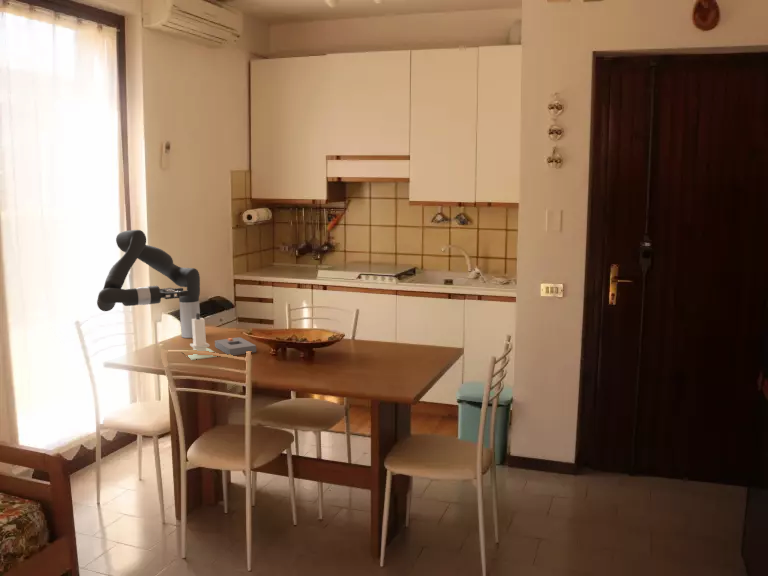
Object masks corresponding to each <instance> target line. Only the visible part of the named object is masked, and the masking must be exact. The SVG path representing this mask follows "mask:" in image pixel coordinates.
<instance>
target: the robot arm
mask: <svg viewBox="0 0 768 576" xmlns="http://www.w3.org/2000/svg"><path fill="white" fill-rule="evenodd" d="M115 241H116V242H115V243H116V245H117V248H119V250H120V251H122V252H123V253H124V254H123V255H122V256H121V257H120V259H118V260H117V261H116V262H115V263H114V265H112V267H111V268H110V270H109V271H108V274H107V276H106V279H105V282H104V286H103V288H102V289H101V290H100V291H99V292H98V296H97V300H96V303H97V304H96V306H97V308H98V309H99V310H101V312H102V311H103V312H109V311H111V310H113V309H114V308H115V306H116V304H118V303H119V304H122V305H123V306H125V307H131V306H132V307H133V306H146V305H155V304H156V305H157V304H160V303H161V299H164V300H171V299H178V302H179V317H180V318H179V319H180V333H181V338H185V339H191V338H192V339H193V333H192V319H195V318H196V314H197V313H200V312H201V309H200V295H201V294H200V293H201V277H200V272H199V270H198V269H197V268H196V267H195V268H194V267H180V266H178V265H177V264H175V263H174V259H173V257H172V256H171V255H170V254H168V252H166V251H165V250H163V249H161V248H159V247H155V246H153V245H148V244H147V236H146V234H145V232H144V231H143V230H140V229H130V230H124V231H120V232H119V233H118V234H117V235H116V238H115ZM137 260H139V261H141V262H143V263H145V264H146V265H147V266H149V267H150V268H152V269H153V270H155V271H157V272H158V273H160V274H161V275H162V276H163V275H164V276H165V277H167V278H168V279H169V280H170V281H172V283H174V284H175V285H177V287H176V288H174V287H167V288H160V287H159V285H149V286H148V285H147V286H142V287H141V286H140V287H136V288H134V287H133V288H126V289H125V288H122V287H124V283H125V281H126V279H127V276H128V274H129V272H130V271H131V269H132V268H133V265H134V263H136V261H137ZM184 288H186V290H184ZM200 314H201V313H200Z"/></svg>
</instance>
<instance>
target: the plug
mask: <svg viewBox="0 0 768 576" xmlns="http://www.w3.org/2000/svg"><path fill="white" fill-rule="evenodd" d="M192 333H193V338H192V342H191V343H189V347H191V348H192V350H197V351H207V350H206V348H210V343H208V342H207V339H206V338H207V336H206V319H204V318H203V317H201V313H197V314H196V318H195V319H192ZM196 355H198V354H196Z"/></svg>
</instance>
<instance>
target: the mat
mask: <svg viewBox="0 0 768 576" xmlns="http://www.w3.org/2000/svg"><path fill="white" fill-rule="evenodd" d="M206 350H207V351H209V352H215V351H214V350H212V349H211V348H210V347H206ZM188 357H189V358H190V360H191V361H197V360H204V359H209V358H211V359H212V358H217V356H213V355H196V354H193V355H188ZM188 357H187V358H188ZM189 358H188V359H189ZM196 359H197V360H196Z"/></svg>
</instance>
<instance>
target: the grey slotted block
mask: <svg viewBox="0 0 768 576" xmlns="http://www.w3.org/2000/svg"><path fill="white" fill-rule="evenodd" d="M214 347H215V348H216V349H218V350H220V351H221V352H223V353H224V354H226V355H228V354H231V355H233V356H239V355H245V353H246V351H252V353H253V354H254V353H257V345H256V344H255V343H252V342H250V341H249V340H246V339H245V338H242V337H241V336H239V337H228V338H224V339H218V340H214ZM252 353H251V354H252ZM246 354H247V353H246Z"/></svg>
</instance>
